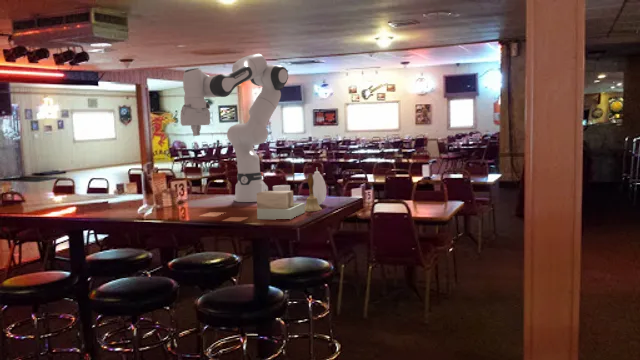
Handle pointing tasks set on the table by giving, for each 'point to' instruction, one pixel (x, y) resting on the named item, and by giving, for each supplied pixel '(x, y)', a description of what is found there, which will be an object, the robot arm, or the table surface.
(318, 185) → the white tall oval shape
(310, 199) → the hand bell
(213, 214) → the trap pits
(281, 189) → the white cup
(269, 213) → the pale green tray
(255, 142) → the robot arm
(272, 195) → the pale maple block
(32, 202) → the table surface
